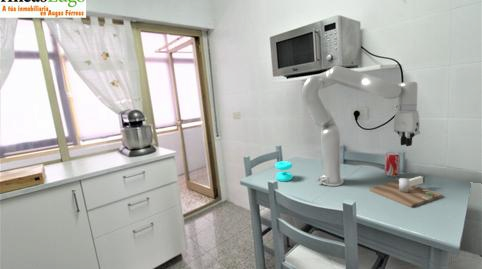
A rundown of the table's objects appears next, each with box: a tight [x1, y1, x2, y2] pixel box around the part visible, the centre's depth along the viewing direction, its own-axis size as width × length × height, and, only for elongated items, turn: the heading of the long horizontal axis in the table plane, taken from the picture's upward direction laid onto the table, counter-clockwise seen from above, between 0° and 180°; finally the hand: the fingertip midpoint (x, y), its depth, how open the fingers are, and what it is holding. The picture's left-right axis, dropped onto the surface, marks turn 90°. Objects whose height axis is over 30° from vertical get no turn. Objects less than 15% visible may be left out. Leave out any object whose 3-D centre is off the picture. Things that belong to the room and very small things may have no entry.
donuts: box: [275, 160, 294, 182], centre depth 146 cm, size 10×10×10 cm
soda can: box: [384, 151, 401, 178], centre depth 137 cm, size 7×7×13 cm
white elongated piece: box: [398, 175, 426, 192], centre depth 116 cm, size 15×4×5 cm, turn 110°
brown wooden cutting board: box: [368, 179, 444, 209], centre depth 115 cm, size 21×21×2 cm
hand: (406, 145), depth 120 cm, fingers closed
